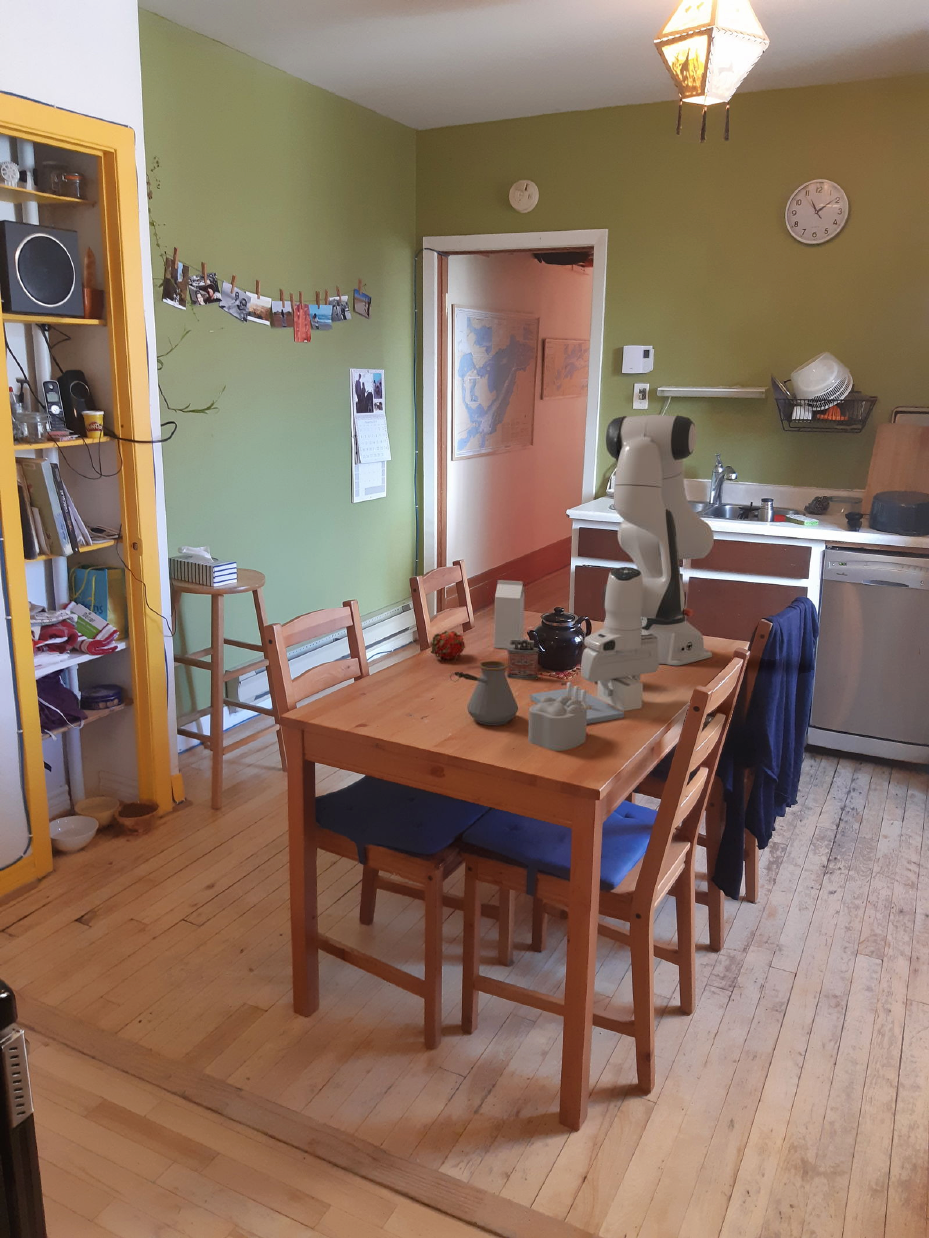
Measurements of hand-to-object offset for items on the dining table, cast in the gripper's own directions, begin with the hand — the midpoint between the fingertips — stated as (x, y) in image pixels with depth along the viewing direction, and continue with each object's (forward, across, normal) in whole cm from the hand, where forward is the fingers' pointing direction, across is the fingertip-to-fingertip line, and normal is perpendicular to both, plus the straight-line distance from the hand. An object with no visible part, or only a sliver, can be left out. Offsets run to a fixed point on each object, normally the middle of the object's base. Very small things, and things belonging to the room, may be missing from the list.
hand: (619, 694), depth 226 cm
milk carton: (+2, 0, -54) cm, 54 cm away
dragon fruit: (+2, +21, -50) cm, 54 cm away
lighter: (+2, +11, -27) cm, 29 cm away
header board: (+2, +12, -1) cm, 12 cm away
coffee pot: (+2, +37, 0) cm, 37 cm away
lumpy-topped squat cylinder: (+2, +25, +14) cm, 29 cm away
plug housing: (+2, 0, 0) cm, 2 cm away
